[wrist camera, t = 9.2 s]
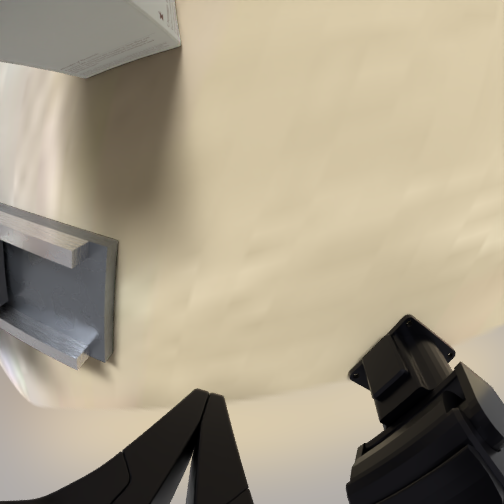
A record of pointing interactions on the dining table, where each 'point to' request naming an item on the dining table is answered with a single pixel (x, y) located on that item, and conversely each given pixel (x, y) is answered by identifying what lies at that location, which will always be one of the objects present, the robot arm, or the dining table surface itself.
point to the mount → (58, 287)
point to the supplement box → (85, 33)
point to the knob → (2, 277)
